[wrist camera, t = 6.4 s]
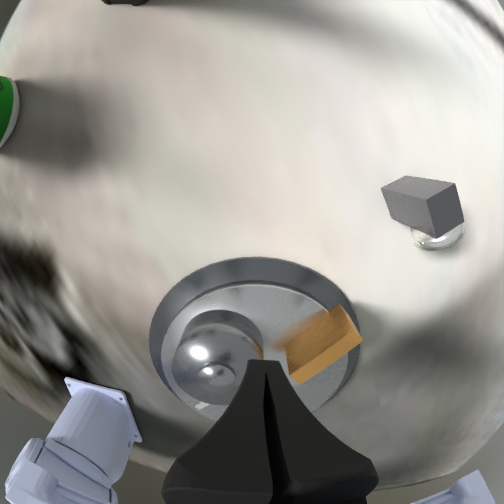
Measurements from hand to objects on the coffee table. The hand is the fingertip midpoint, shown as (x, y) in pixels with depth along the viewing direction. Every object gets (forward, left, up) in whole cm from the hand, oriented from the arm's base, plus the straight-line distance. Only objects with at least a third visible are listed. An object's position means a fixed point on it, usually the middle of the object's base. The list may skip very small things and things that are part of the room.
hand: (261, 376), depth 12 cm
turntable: (-6, 0, -9) cm, 11 cm away
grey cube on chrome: (+8, -10, -9) cm, 16 cm away
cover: (-4, +2, -8) cm, 9 cm away
